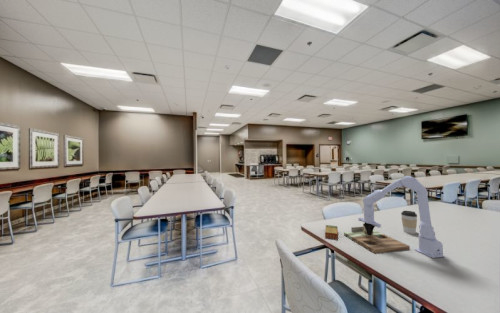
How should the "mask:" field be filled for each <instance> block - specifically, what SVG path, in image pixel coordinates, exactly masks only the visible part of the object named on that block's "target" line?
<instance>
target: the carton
mask: <svg viewBox="0 0 500 313" xmlns="http://www.w3.org/2000/svg"><path fill="white" fill-rule="evenodd" d="M338 228H339V227H338V225H330V224H325V231H324V235H325V236H324V237H325V239H332V240H336V241H337V240H339V232H338V231H339V230H338Z"/></svg>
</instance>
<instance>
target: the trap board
mask: <svg viewBox="0 0 500 313" xmlns="http://www.w3.org/2000/svg"><path fill="white" fill-rule="evenodd" d="M343 236H345V237H346V238H349V239H350V240H351V241H352V242H355V243H356V244H358V245H360V246H361V247H363V248H364V249H366V250H368V251H369V252H371V253H373V254H379V253H388V252H389V253H390V252H399V251H407V250H410V249H411V248H410V245H408V244H406V243H404V242H402V241H401V240H397V239H395V238H393V237H391V236H388V235H387V234H384V233H381V232H379V231H377V230H375V229H373V235H367V234H364V232H363V225H362V226H352V227H351V230H350V231H344V232H343Z"/></svg>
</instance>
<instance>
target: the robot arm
mask: <svg viewBox="0 0 500 313" xmlns="http://www.w3.org/2000/svg"><path fill="white" fill-rule="evenodd" d="M403 187H404V188H406V189H409V190H411V191H413V192H414V193H415V192H416V197H417V206H418V214H419V220H420V223H419V226H418V228H419V233H418V248H414V251H417V252H419V253H421V254H423V255H425V256H427V257H429V258H432V259H435V258H444V257H445V255H444V247H443V243H442V242H441V241H439V240H438V239H437V237H436V232H435V230H434V226H433V225H432V220H431V212H430V206H429V205H430V204H429V197H428V191H427V188H426V186H424V185H423V184H422V183H421V182H420V180H418V179H417V178H415V177H413V176H410V175H405V176H402V177H401V178H399V179H397V180H395V181H392V182H391V183H389V184H388V185H387V186H385V187H384V188H382V189H374V190H373V192H371V193H370V194H367V196H365V197H363V200H362V202H363V218H362V217H358V222H362V223H363V224H362V226H363V225H364V227H365V229H366V231H367V235H372V231H373V230H375V227H377V228H378V229H379V228H382V225H381V223H378V222H376V221H375V208H374V203H378V202H379V201H381V200H382V199H384V198H385V197H386V194H387V193H389V192H392V191H393V190H395V189H397V188H403Z"/></svg>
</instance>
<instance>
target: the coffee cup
mask: <svg viewBox="0 0 500 313" xmlns="http://www.w3.org/2000/svg"><path fill="white" fill-rule="evenodd" d="M400 215H401V223H402V224H401V225H402V228H403V232H404V233H407V234H410V235H413V234H414V235H416V233H417V225H418V224H417V223H418V218H417V217H418V215H417V213H416V212H415V211H412V210H411V211H410V210H402V211H401V213H400Z"/></svg>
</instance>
